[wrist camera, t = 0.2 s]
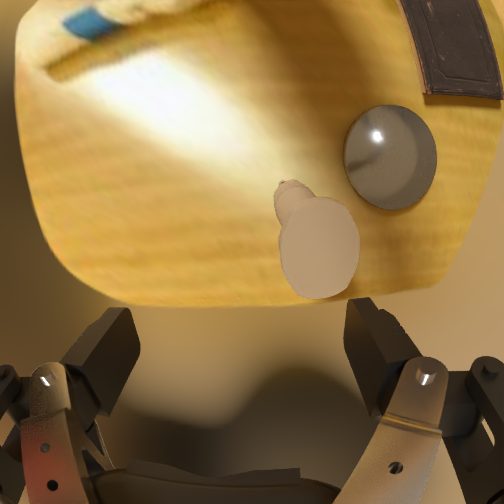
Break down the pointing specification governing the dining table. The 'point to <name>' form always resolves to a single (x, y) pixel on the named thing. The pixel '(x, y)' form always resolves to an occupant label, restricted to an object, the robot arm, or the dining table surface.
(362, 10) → the dining table surface
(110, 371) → the robot arm
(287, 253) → the handle
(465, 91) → the hardcover book
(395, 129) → the disk
